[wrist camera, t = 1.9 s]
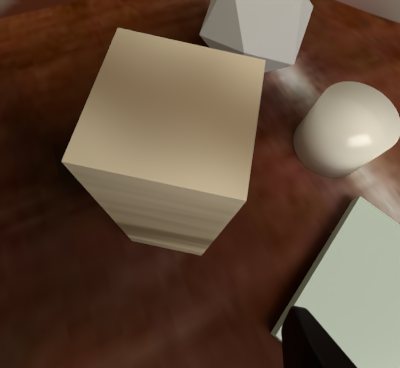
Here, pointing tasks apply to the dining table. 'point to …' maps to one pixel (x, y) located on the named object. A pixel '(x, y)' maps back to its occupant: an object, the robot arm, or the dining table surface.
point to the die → (258, 29)
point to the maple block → (168, 138)
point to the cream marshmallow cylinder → (346, 129)
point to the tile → (357, 287)
